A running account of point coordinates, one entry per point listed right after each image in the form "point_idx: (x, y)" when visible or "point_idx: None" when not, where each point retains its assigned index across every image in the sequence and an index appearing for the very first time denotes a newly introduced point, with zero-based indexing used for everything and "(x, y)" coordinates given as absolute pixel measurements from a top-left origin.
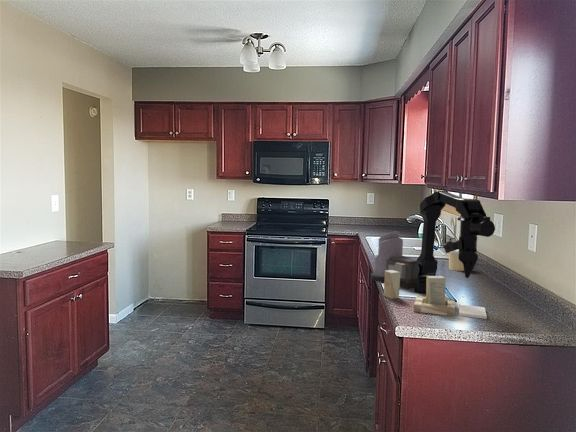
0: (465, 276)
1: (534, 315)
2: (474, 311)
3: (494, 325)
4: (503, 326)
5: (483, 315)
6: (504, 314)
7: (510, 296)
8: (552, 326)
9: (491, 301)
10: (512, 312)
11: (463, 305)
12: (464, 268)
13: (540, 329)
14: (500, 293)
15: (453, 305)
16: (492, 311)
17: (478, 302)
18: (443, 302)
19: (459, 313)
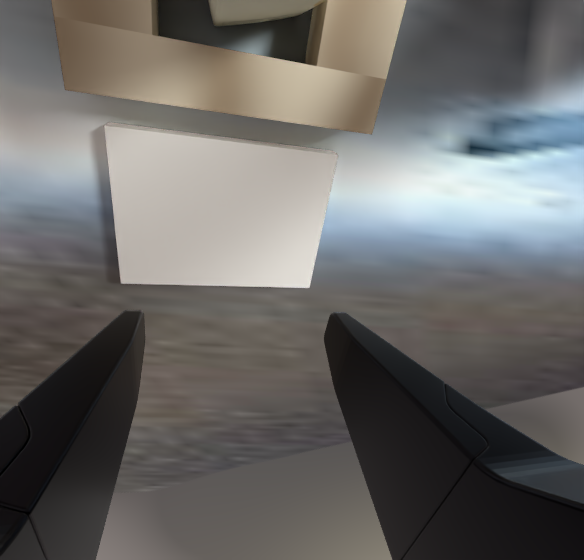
0: (117, 319)
1: (272, 426)
2: (196, 231)
3: (3, 299)
4: (15, 333)
5: (122, 269)
6: (250, 348)
7: (528, 377)
8: (139, 460)
9: (461, 317)
10: (294, 373)
11: (322, 182)
12: (1, 424)
13: None
14: (575, 352)
15: (189, 97)
16: (288, 309)
17: (444, 266)
18: (210, 1)
19: (105, 128)
